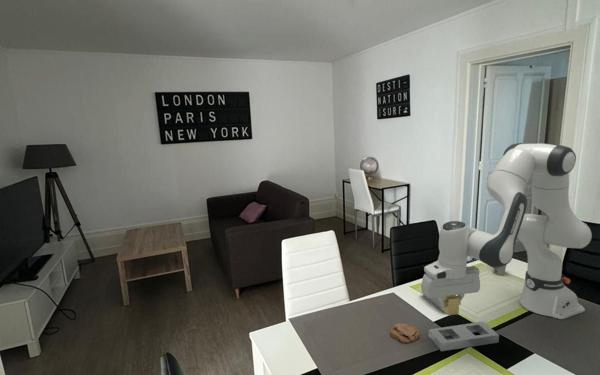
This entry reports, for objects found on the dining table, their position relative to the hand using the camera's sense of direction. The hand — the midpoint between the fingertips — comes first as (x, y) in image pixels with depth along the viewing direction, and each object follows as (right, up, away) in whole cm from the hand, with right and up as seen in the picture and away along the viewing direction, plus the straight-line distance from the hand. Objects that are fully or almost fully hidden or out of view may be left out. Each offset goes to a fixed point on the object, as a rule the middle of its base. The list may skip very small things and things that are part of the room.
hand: (450, 305), depth 111 cm
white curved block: (+7, -10, +27) cm, 30 cm away
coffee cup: (+50, -3, +51) cm, 71 cm away
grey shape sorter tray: (+6, -14, +4) cm, 16 cm away
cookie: (-13, -15, +8) cm, 21 cm away
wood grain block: (0, -2, 0) cm, 2 cm away
